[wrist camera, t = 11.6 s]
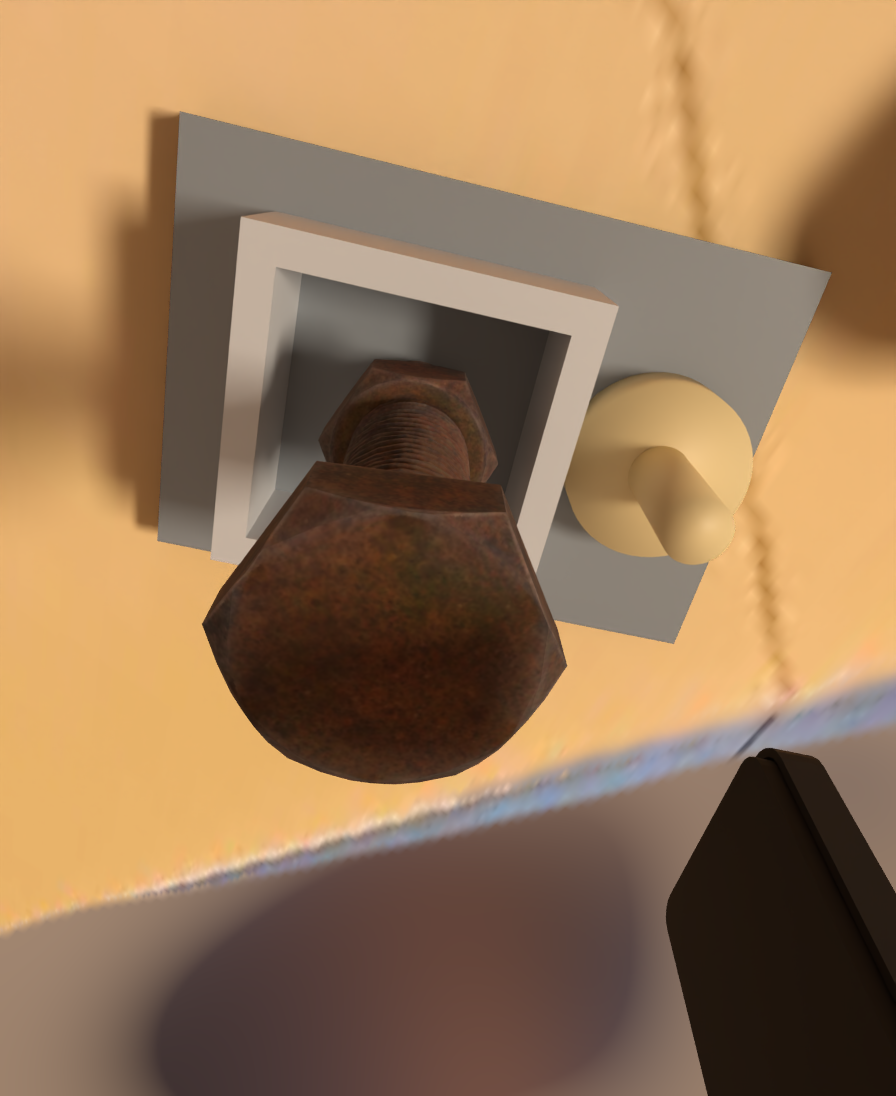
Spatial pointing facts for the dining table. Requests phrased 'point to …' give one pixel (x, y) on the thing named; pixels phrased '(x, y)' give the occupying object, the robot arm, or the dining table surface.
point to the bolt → (390, 594)
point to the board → (471, 358)
